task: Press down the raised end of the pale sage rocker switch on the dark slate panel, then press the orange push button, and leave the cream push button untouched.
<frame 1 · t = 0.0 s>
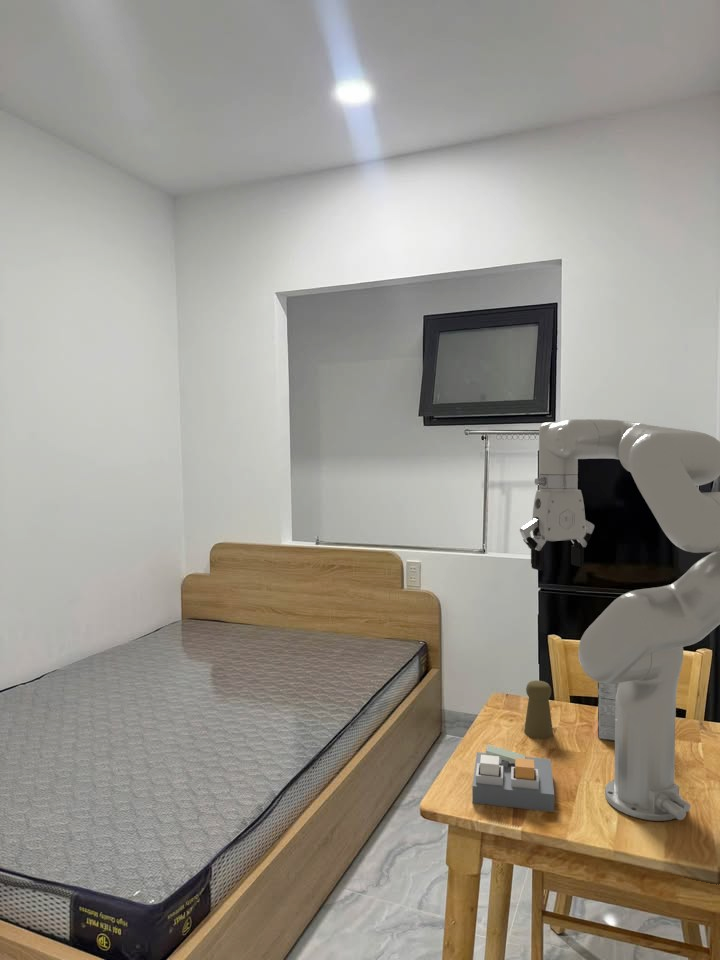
hand: (557, 567, 136), 37 cm above the table, tool pointing down, fingers open, 9 cm apart
cream button: (489, 765, 119), point 5 cm above the table, slide at 0.0 cm
sage rocker: (505, 755, 124), point 5 cm above the table, hinge at -12.0°
candy bar box: (611, 731, 145), on the table
cork: (538, 733, 144), on the table
switch panel: (512, 788, 121), on the table
orange button: (524, 768, 117), point 5 cm above the table, slide at 0.0 cm
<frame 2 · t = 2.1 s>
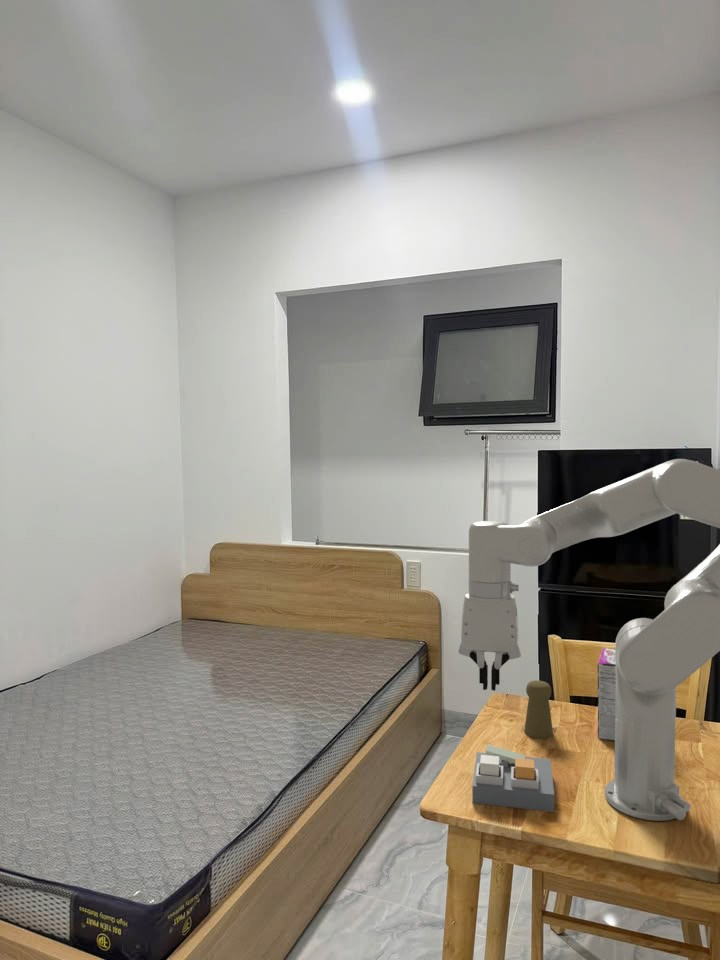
hand: (489, 687, 124), 17 cm above the table, tool pointing down, fingers closed
nothing on the table moved.
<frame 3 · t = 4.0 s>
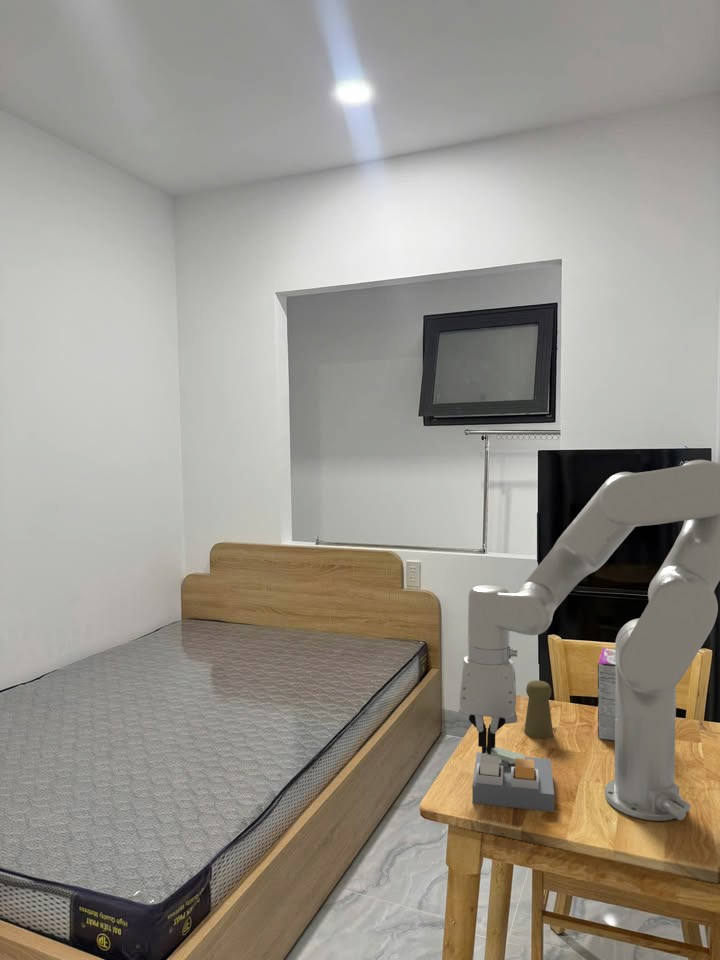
hand: (486, 750, 125), 5 cm above the table, tool pointing down, fingers closed
sage rocker: (505, 755, 124), point 5 cm above the table, hinge at -11.4°, touching gripper
everything else where it was.
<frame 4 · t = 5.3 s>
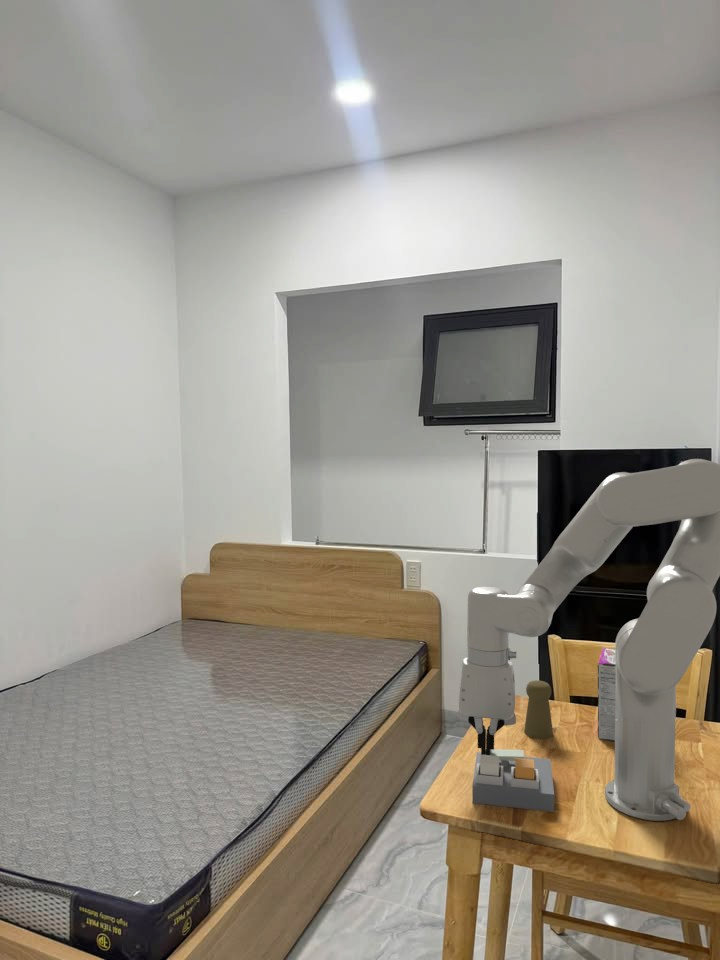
hand: (485, 752, 125), 5 cm above the table, tool pointing down, fingers closed
sage rocker: (504, 754, 124), point 5 cm above the table, hinge at 4.5°, touching gripper
everything else where it was.
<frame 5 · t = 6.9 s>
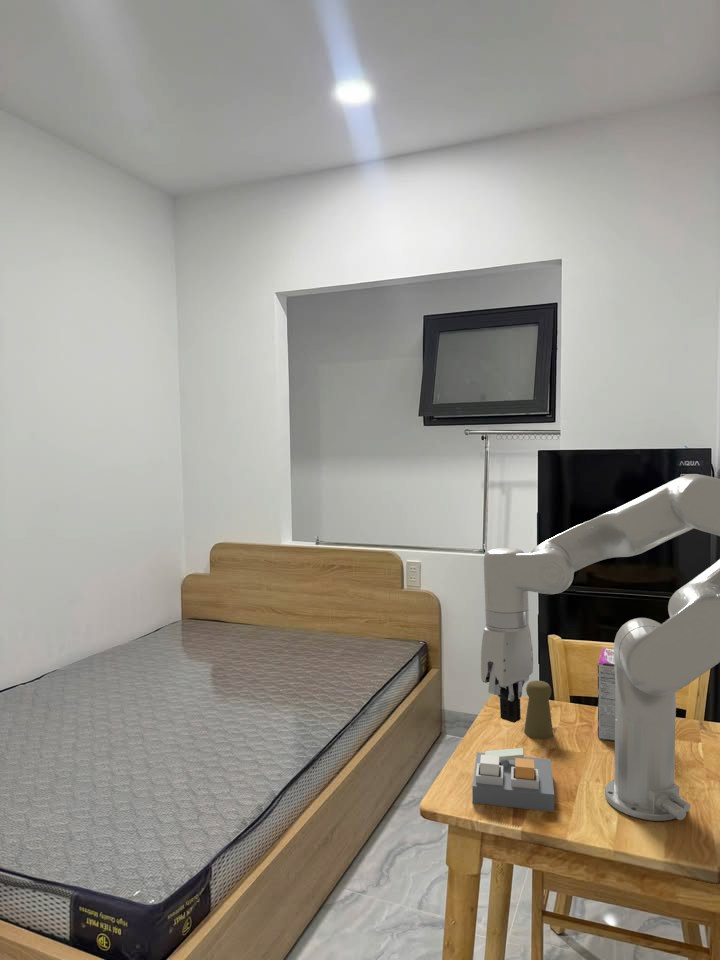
hand: (510, 719, 120), 13 cm above the table, tool pointing down, fingers closed
sage rocker: (504, 754, 124), point 5 cm above the table, hinge at 10.3°
everything else where it was.
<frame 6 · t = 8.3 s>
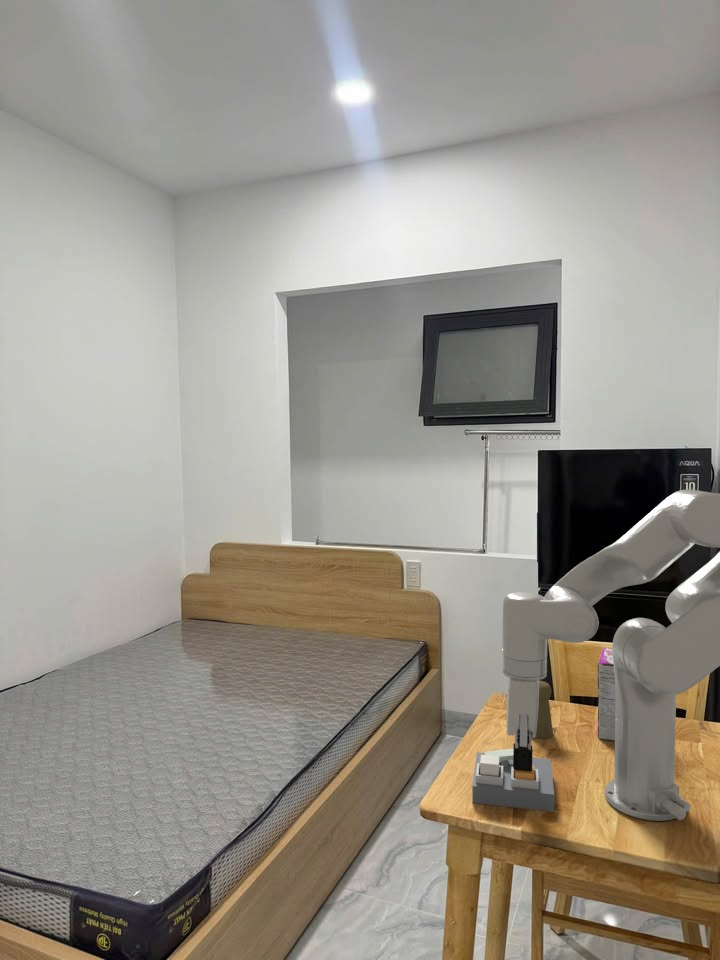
hand: (522, 768, 117), 5 cm above the table, tool pointing down, fingers closed
sage rocker: (504, 754, 124), point 5 cm above the table, hinge at 11.6°
orange button: (524, 774, 117), point 4 cm above the table, slide at 1.0 cm
everything else where it was.
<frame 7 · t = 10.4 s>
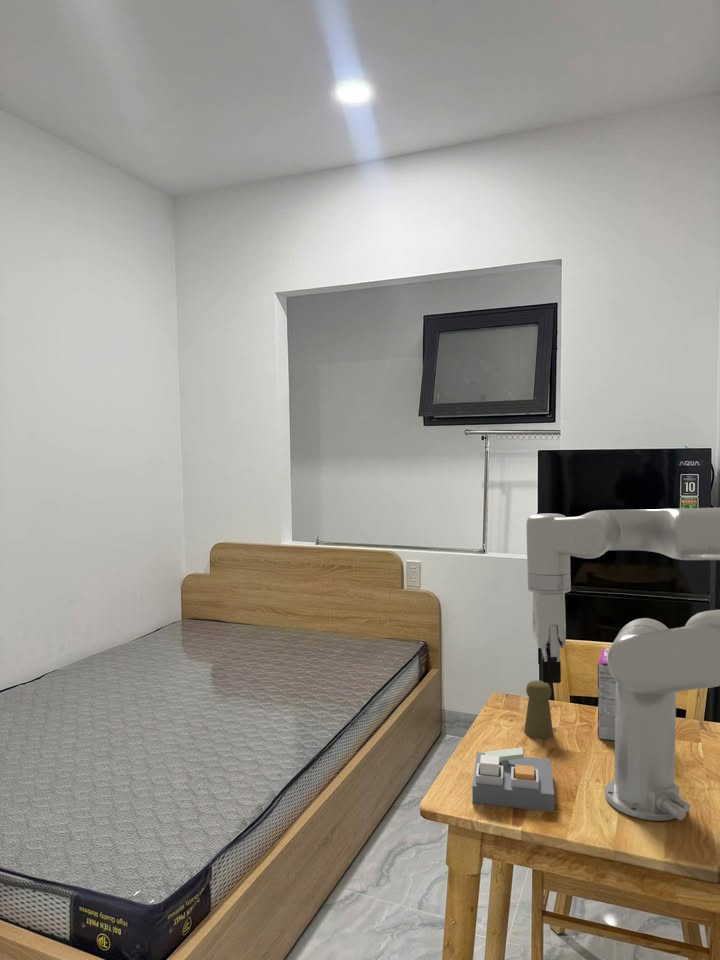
hand: (551, 681, 123), 19 cm above the table, tool pointing down, fingers closed
sage rocker: (504, 754, 124), point 5 cm above the table, hinge at 12.1°
everything else where it was.
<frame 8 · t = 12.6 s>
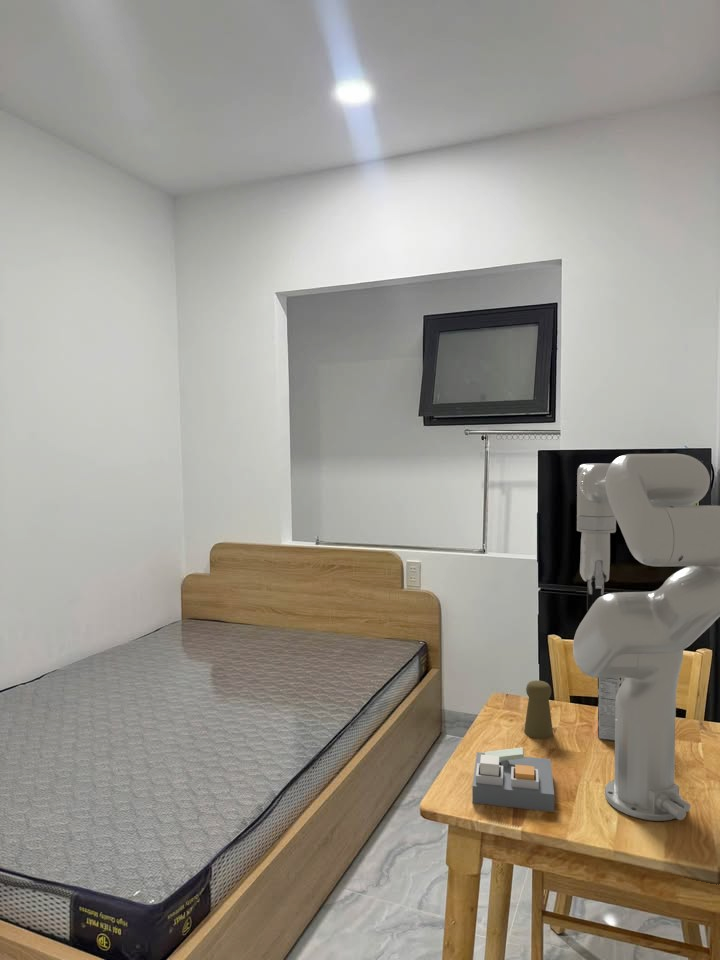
hand: (595, 612, 138), 27 cm above the table, tool pointing down, fingers closed
nothing on the table moved.
at the end: sage rocker at +12° (first picture: -12°); orange button slide at 1.2 cm; cream button slide at 0.0 cm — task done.
